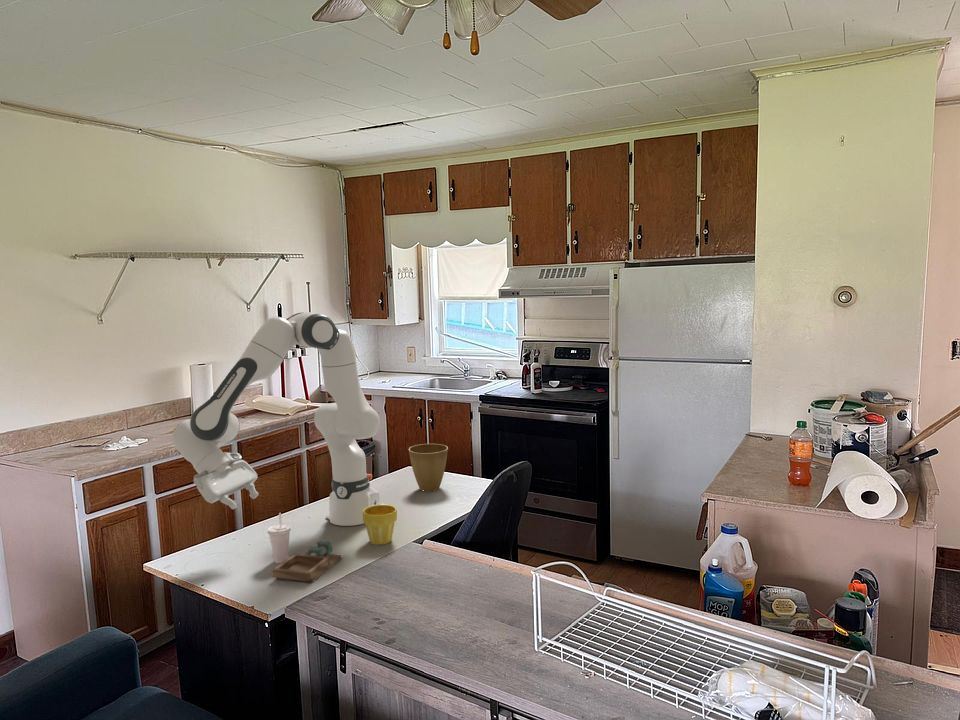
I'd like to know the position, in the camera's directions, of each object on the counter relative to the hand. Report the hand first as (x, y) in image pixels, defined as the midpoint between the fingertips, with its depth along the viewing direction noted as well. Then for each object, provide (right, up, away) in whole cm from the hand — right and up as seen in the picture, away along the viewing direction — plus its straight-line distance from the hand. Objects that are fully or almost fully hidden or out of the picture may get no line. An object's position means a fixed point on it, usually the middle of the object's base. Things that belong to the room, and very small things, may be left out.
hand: (246, 501), depth 194 cm
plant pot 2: (+48, -9, +63) cm, 80 cm away
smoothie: (+10, -17, -1) cm, 20 cm away
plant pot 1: (+37, -14, +12) cm, 42 cm away
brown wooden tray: (+20, -17, -7) cm, 27 cm away
